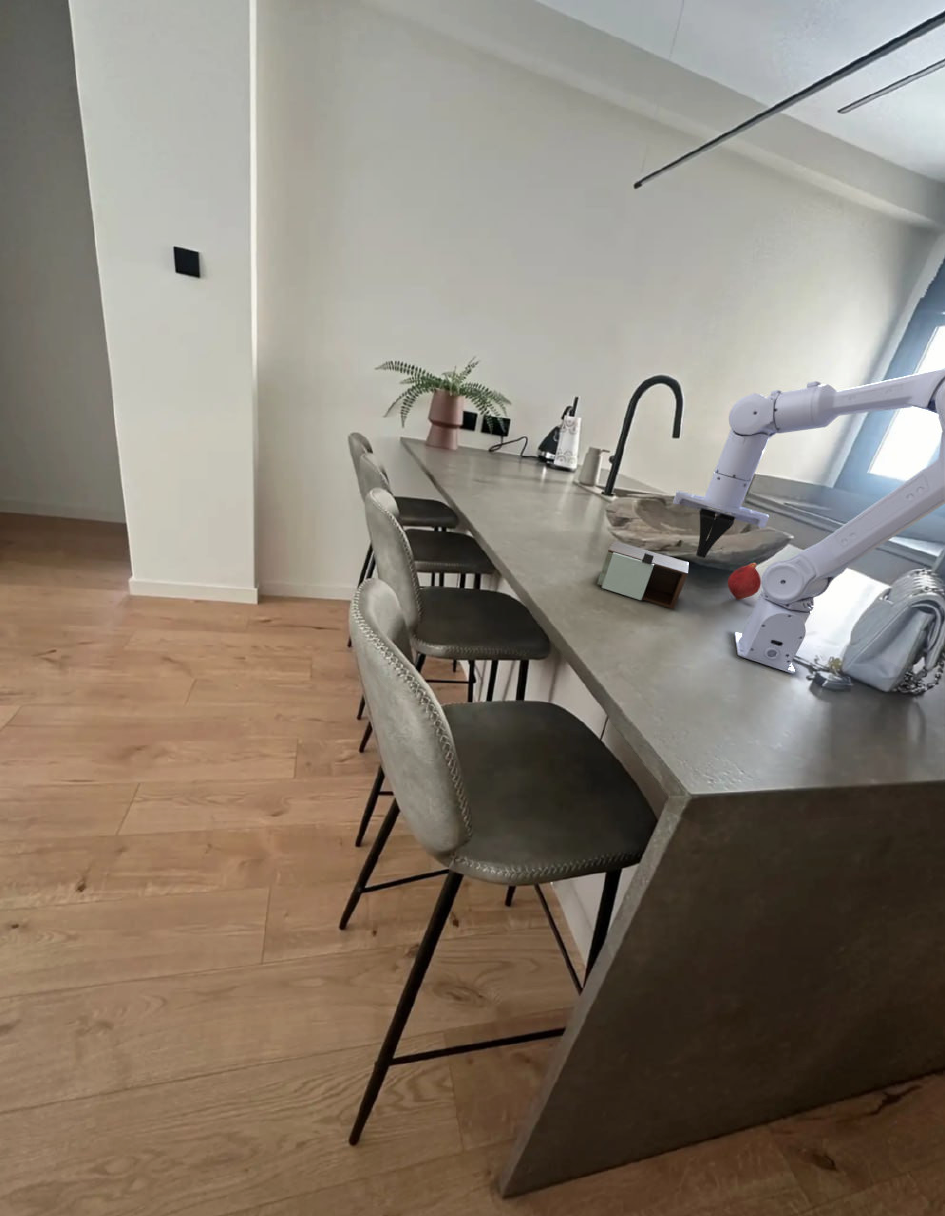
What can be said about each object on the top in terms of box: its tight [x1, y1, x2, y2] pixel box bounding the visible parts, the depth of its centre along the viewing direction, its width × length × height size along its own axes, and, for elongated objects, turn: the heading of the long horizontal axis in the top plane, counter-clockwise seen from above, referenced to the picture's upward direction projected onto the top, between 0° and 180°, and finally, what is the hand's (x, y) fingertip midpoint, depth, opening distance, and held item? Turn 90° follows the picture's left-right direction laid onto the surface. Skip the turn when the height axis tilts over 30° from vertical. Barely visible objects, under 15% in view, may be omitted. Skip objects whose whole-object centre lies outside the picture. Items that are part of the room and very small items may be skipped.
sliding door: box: [601, 552, 654, 601], centre depth 93 cm, size 1×7×8 cm, turn 68°
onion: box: [727, 562, 762, 601], centre depth 105 cm, size 6×6×8 cm
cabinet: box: [596, 540, 689, 610], centre depth 97 cm, size 8×14×7 cm, turn 68°
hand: (700, 555), depth 90 cm, fingers closed
